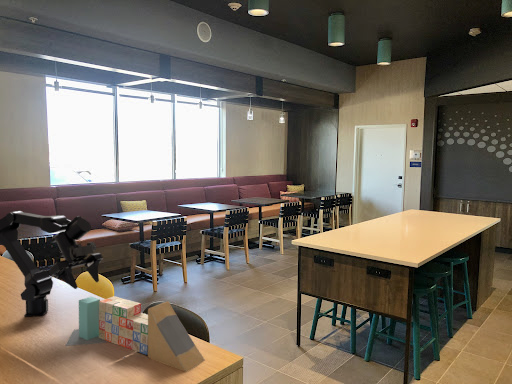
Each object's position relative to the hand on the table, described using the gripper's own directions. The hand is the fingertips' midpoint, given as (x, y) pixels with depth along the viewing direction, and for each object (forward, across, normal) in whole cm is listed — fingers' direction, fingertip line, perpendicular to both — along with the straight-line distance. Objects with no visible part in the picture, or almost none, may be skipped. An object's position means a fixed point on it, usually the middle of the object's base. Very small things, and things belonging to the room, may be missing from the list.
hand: (87, 285), depth 138 cm
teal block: (+16, -7, +1) cm, 18 cm away
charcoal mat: (+17, -7, +1) cm, 18 cm away
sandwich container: (+37, -5, -25) cm, 45 cm away
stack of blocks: (+25, -4, -10) cm, 28 cm away
